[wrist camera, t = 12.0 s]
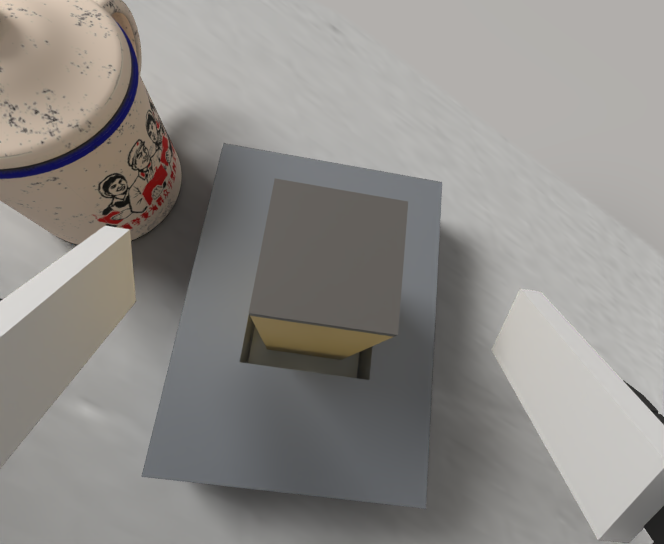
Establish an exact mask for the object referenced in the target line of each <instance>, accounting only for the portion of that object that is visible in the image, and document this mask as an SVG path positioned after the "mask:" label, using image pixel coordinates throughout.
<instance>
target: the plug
mask: <svg viewBox="0 0 664 544" xmlns="http://www.w3.org/2000/svg"><path fill="white" fill-rule="evenodd" d="M407 212H408V201H403V200H397V199H391V198H385V197H379V196H374V195H368V194H362V193H356V192H351V191H345V190H339V189H333V188H328V187H322V186H316V185H310V184H305V183H299V182H293V181H287V180H281V179H276V178H275V179H274V185H273V190H272V195H271V200H270V205H269V210H268V215H267V221H266V226H265V231H264V236H263V241H262V246H261V252H260V257H259V262H258V267H257V272H256V277H255V282H254V288H253V293H252V298H251V303H250V308H249V315H250V317H251V319H252V321H253V323H254V325H255V327H256V329H257V331H258V332H259V334H260V336H261V338H262V340H263V342H264V344H265V346H266V348H267V350H274V351H281V352H288V353H296V354H303V355H310V356H317V357H324V358H331V359H338V360H342V359H344V358H347V357H349V356H351V355H354V354H356V353H358V352H360V351H363V350H365V349H367V348H370V347H372V346H374V345H376V344H379V343H381V342H383V341H386V340H388V339H390V338H392V337H395V336H397V335H398V328H399V315H400V303H401V290H402V277H403V264H404V251H405V238H406V225H407Z"/></svg>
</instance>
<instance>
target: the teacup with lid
mask: <svg viewBox="0 0 664 544" xmlns="http://www.w3.org/2000/svg"><path fill="white" fill-rule="evenodd" d="M140 72H141V45H140V38H139V33H138V29H137V26H136V23H135V20H134V18H133V15H132V13H131V11H130V10H129V8H128V7H127V5H126V4H125V3H124V2H123V1H122V0H0V201H2V202H4V203H5V204H7V205H8V206H10V207H11V208H13V209H14V210H16V211H17V212H19V213H21V214H22V215H24V216H25V217H27V218H28V219H30V220H31V221H33V222H35V223H36V224H38V225H39V226H41V227H42V228H44V229H45V230H47V231H48V232H50V233H52V234H53V235H55V236H57V237H58V238H61V239H63V240H65V241H68V242H71V243H74V244H78V245H79V244H80V243H82V242H83V241H84V240H86V239H87V238H89V237H90V236H91V235H93V234H94V233H96V232H97V231H98V230H100V229H101V228H102V227H104V226H110V227H117V228H124V229H130V236H131V240H134V239H136V238H138V237H140V236H142V235H144V234H146V233H147V232H149V231H150V230H152V229H153V228H155V227H156V226H157V225H158V224H159V223H160V222H161V221H162V220H163V219H164V218H165V217H166V216H167V215H168V213H169V212H170V211H171V209H172V207H173V206H174V204H175V202H176V200H177V197H178V194H179V191H180V187H181V178H182V173H181V166H180V161H179V158H178V155H177V153H176V151H175V149H174V147H173V145H172V143H171V140H170V138H169V136H168V134H167V132H166V130H165V128H164V125H163V123H162V121H161V119H160V117H159V115H158V113H157V111H156V108H155V106H154V104H153V102H152V100H151V98H150V96H149V94H148V91H147V89H146V87H145V85H144V83H143V81H142V79H141V77H140Z"/></svg>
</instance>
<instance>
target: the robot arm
mask: <svg viewBox="0 0 664 544" xmlns="http://www.w3.org/2000/svg"><path fill="white" fill-rule="evenodd" d="M135 302H136V296H135V284H134V272H133V260H132V248H131V236H130V229H124V228H117V227H110V226H104V227H102V228H101V229H100V230H98V231H97V232H96V233H94V234H93V235H91V236H90V237H89V238H87V239H86V240H84V241H83V242H82V243H80V244H79V245H78V246H76V247H75V248H73V249H72V250H71V251H69V252H68V253H66V254H65V255H64V256H62V257H61V258H60V259H58V260H57V261H55V262H54V263H53V264H51V265H50V266H48V267H47V268H46V269H44V270H43V271H42V272H40V273H39V274H37V275H36V276H35V277H33V278H32V279H30V280H29V281H28V282H26V283H25V284H24V285H22V286H21V287H19V288H18V289H17V290H15V291H14V292H12V293H11V294H10V295H8V296H7V297H6V298H4V299H0V468H1V467H2V466H3V464H4V463H5V462H6V461H7V459H8V458H9V457H10V456H11V455H12V453H13V452H14V451H15V450H16V448H17V447H18V446H19V445H20V443H21V442H22V441H23V440H24V439H25V437H26V436H27V435H28V434H29V432H30V431H31V430H32V429H33V427H34V426H35V425H36V424H37V423H38V421H39V420H40V419H41V418H42V416H43V415H44V414H45V413H46V412H47V410H48V409H49V408H50V407H51V405H52V404H53V403H54V402H55V400H56V399H57V398H58V397H59V396H60V394H61V393H62V392H63V391H64V389H65V388H66V387H67V386H68V384H69V383H70V382H71V381H72V380H73V378H74V377H75V376H76V375H77V373H78V372H79V371H80V370H81V368H82V367H83V366H84V365H85V364H86V362H87V361H88V360H89V359H90V357H91V356H92V355H93V354H94V353H95V351H96V350H97V349H98V348H99V346H100V345H101V344H102V343H103V341H104V340H105V339H106V338H107V337H108V335H109V334H110V333H111V332H112V330H113V329H114V328H115V327H116V325H117V324H118V323H119V322H120V321H121V319H122V318H123V317H124V316H125V314H126V313H127V312H128V311H129V310H130V308H131V307H132V306H133V305H134V303H135ZM492 352H493V354H494V356H495V357H496V359H497V361H498V363H499V365H500V366H501V368H502V370H503V372H504V374H505V375H506V377H507V379H508V381H509V382H510V384H511V386H512V388H513V390H514V391H515V393H516V395H517V397H518V398H519V400H520V402H521V404H522V406H523V407H524V409H525V411H526V413H527V414H528V416H529V418H530V420H531V422H532V423H533V425H534V427H535V429H536V430H537V432H538V434H539V436H540V438H541V439H542V441H543V443H544V445H545V447H546V448H547V450H548V452H549V454H550V455H551V457H552V459H553V461H554V463H555V464H556V466H557V468H558V470H559V471H560V473H561V475H562V477H563V479H564V480H565V482H566V484H567V486H568V487H569V489H570V491H571V493H572V495H573V496H574V498H575V500H576V502H577V503H578V505H579V507H580V509H581V511H582V512H583V514H584V516H585V518H586V519H587V521H588V523H589V525H590V527H591V528H592V530H593V532H594V534H595V536H596V537H597V539H598V540H602V541H613V542H624V543H629V542H630V541H631V540H632V539H633V538H634V537H635V536H636V535H637V534H638V533H639V532H640V531H641V530H642V529H643V528H645V529H646V531H647V532H648V534H649V535H650V537H651V538H652V540H653V541H654V543H653V544H664V417H663V416H662V415H661V414H658V410H657V409H656V408H655V407H654V406H653V405H652V404H651V403H650V402H649V401H648V400H647V399H646V398H645V397H644V395H642V394H641V393H640V392H638V391H637V390H636V389H634V388H633V387H632V386H630V385H629V384H628V383H626V382H625V381H624V380H622V379H621V378H620V377H619V376H618V375H617V374H616V373H615V371H614V370H613V369H612V368H611V367H610V366H609V365H608V364H607V363H606V362H605V361H604V360H603V358H602V357H601V356H600V355H599V354H598V353H597V352H596V351H595V350H594V349H593V348H592V346H591V345H590V344H589V343H588V342H587V341H586V340H585V339H584V338H583V337H582V336H581V335H580V333H579V332H578V331H577V330H576V329H575V328H574V327H573V326H572V325H571V324H570V323H569V322H568V320H567V319H566V318H565V317H564V316H563V315H562V314H561V313H560V312H559V311H558V310H557V309H556V307H555V306H554V305H553V304H552V303H551V302H550V301H549V300H548V299H547V298H546V297H545V296H544V294H543V293H542V292H540V291H533V290H527V289H520V290H519V292H518V294H517V296H516V298H515V301H514V303H513V305H512V307H511V309H510V311H509V313H508V315H507V318H506V320H505V322H504V324H503V326H502V328H501V330H500V332H499V335H498V337H497V339H496V341H495V343H494V345H493V347H492Z"/></svg>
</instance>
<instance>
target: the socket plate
mask: <svg viewBox="0 0 664 544" xmlns="http://www.w3.org/2000/svg"><path fill="white" fill-rule="evenodd" d="M275 178H276V179H281V180H287V181H293V182H299V183H305V184H310V185H316V186H322V187H328V188H333V189H339V190H345V191H351V192H356V193H362V194H368V195H374V196H379V197H385V198H391V199H397V200H403V201H408V212H407V225H406V238H405V251H404V264H403V277H402V290H401V303H400V315H399V328H398V335H397V336H395V337H392V338H390V339H388V340H386V341H383V342H381V343H379V344H376V345H374V346H372V347H370V348H367V349H365V350H363V351H360V352H358V353H356V354H354V355H351V356H349V357H347V358H344V359H342V360H338V359H331V358H324V357H317V356H310V355H303V354H296V353H288V352H281V351H274V350H267V348H266V346H265V344H264V342H263V340H262V338H261V336H260V334H259V332H258V331H257V329H256V327H255V325H254V323H253V321H252V319H251V317H250V315H249V308H250V303H251V298H252V293H253V288H254V282H255V277H256V272H257V267H258V262H259V257H260V252H261V246H262V241H263V236H264V231H265V226H266V221H267V215H268V210H269V205H270V200H271V195H272V190H273V185H274V179H275ZM441 196H442V182H438V181H433V180H427V179H422V178H416V177H410V176H405V175H399V174H394V173H388V172H382V171H377V170H371V169H366V168H360V167H354V166H349V165H343V164H338V163H332V162H326V161H321V160H315V159H310V158H304V157H298V156H293V155H287V154H282V153H276V152H270V151H265V150H259V149H254V148H248V147H242V146H237V145H231V144H226V143H223V147H222V152H221V156H220V160H219V164H218V168H217V172H216V176H215V180H214V184H213V188H212V192H211V196H210V200H209V204H208V208H207V213H206V217H205V221H204V225H203V229H202V233H201V237H200V241H199V245H198V249H197V253H196V257H195V261H194V265H193V269H192V273H191V278H190V282H189V286H188V290H187V294H186V298H185V302H184V306H183V310H182V314H181V318H180V322H179V326H178V330H177V334H176V339H175V343H174V347H173V351H172V355H171V359H170V363H169V367H168V371H167V375H166V379H165V383H164V387H163V391H162V395H161V400H160V404H159V408H158V412H157V416H156V420H155V424H154V428H153V432H152V436H151V440H150V444H149V448H148V452H147V456H146V460H145V465H144V469H143V473H142V477H149V478H158V479H167V480H176V481H185V482H193V483H202V484H211V485H220V486H229V487H238V488H247V489H255V490H264V491H273V492H282V493H291V494H300V495H308V496H317V497H326V498H335V499H344V500H353V501H361V502H370V503H379V504H388V505H397V506H406V507H415V508H423V509H426V498H427V478H428V458H429V437H430V417H431V397H432V377H433V357H434V337H435V317H436V296H437V276H438V256H439V236H440V216H441Z"/></svg>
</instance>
